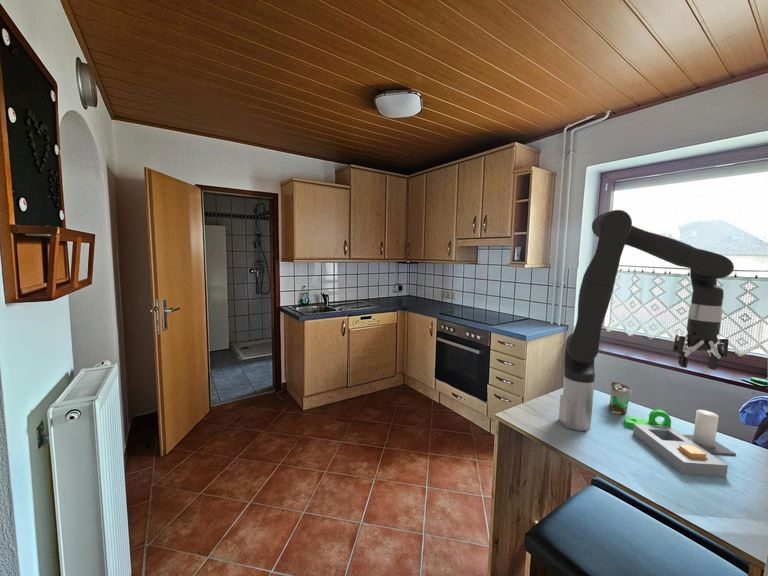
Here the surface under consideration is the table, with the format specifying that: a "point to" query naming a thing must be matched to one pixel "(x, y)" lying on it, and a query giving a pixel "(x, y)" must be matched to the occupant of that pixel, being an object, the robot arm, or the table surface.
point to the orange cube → (692, 452)
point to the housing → (667, 447)
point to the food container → (619, 398)
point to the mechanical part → (653, 414)
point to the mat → (716, 450)
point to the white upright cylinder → (705, 428)
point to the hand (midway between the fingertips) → (697, 367)
